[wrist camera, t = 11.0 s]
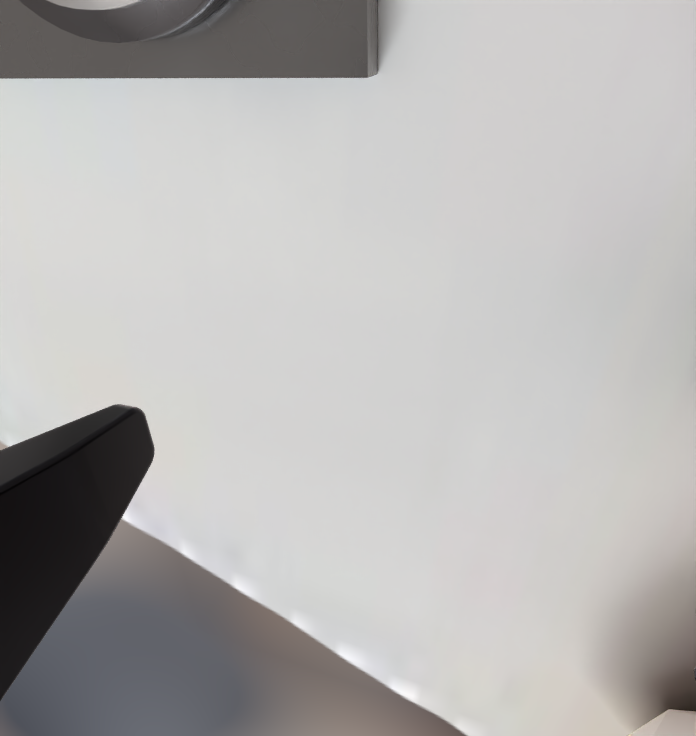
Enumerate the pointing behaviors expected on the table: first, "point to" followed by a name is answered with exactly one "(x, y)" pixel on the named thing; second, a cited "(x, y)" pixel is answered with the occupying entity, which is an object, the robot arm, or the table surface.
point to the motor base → (188, 38)
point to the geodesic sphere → (669, 724)
